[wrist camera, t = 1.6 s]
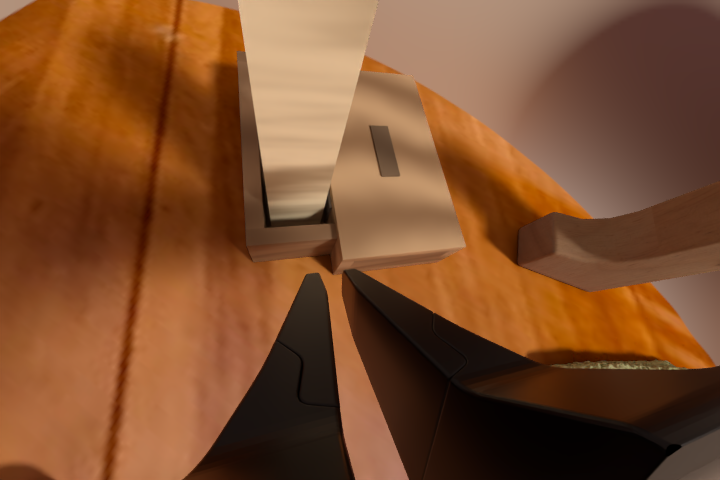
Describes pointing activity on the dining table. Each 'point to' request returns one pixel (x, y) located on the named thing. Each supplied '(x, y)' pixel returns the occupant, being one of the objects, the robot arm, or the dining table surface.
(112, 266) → the dining table surface
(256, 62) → the tall beige rectangular block
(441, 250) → the box with sliding lid
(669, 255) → the wooden block
